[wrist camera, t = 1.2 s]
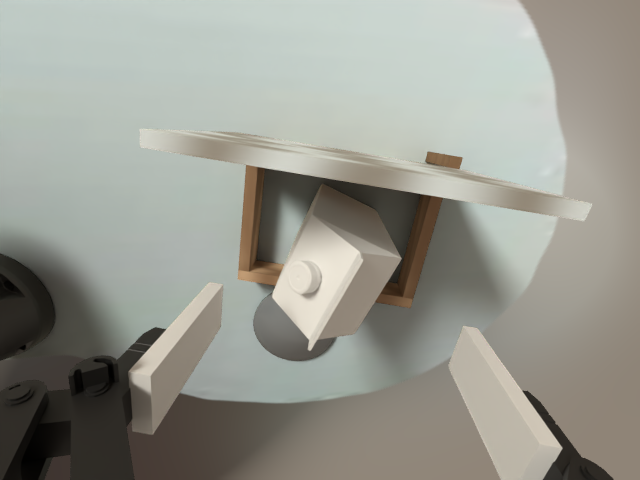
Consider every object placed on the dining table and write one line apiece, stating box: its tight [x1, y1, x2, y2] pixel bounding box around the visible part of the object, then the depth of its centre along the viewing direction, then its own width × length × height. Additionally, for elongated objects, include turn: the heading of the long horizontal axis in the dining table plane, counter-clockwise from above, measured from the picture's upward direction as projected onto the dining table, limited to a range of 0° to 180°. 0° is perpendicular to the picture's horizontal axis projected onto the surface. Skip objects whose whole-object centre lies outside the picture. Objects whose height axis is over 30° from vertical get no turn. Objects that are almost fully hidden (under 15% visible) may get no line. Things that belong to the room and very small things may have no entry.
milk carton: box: [272, 184, 402, 351], centre depth 27 cm, size 7×7×19 cm
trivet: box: [253, 293, 334, 361], centre depth 41 cm, size 11×11×1 cm
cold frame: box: [140, 129, 592, 308], centre depth 26 cm, size 20×17×21 cm
